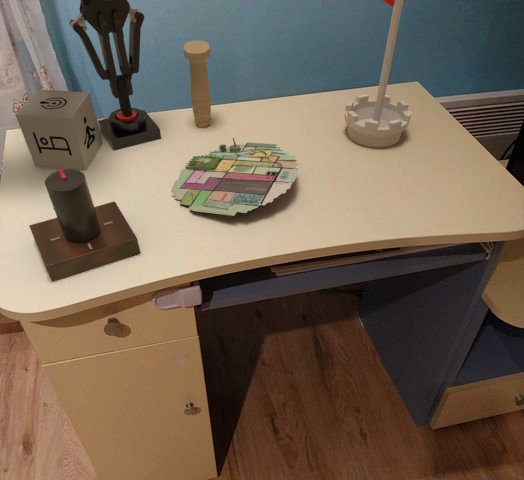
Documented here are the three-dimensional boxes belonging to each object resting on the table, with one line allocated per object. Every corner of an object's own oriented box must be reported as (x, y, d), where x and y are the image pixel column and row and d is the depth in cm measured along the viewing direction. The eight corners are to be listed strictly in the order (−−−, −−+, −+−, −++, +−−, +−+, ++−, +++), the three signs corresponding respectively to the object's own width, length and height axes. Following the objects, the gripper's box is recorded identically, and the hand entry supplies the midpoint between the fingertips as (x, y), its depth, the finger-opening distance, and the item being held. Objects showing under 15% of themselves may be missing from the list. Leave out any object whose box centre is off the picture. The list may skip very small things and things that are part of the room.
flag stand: (398, 118, 108) (437, -56, 84) (411, 149, 100) (459, -34, 76) (338, 119, 107) (361, -56, 84) (347, 150, 99) (375, -34, 76)
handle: (191, 132, 103) (182, 53, 91) (192, 117, 107) (184, 40, 96) (214, 132, 103) (209, 53, 92) (214, 117, 107) (209, 40, 96)
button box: (100, 130, 103) (95, 111, 100) (146, 120, 106) (142, 101, 103) (114, 150, 98) (109, 131, 95) (161, 139, 101) (158, 119, 98)
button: (115, 120, 101) (113, 111, 99) (134, 116, 102) (132, 107, 101) (121, 129, 99) (119, 120, 97) (141, 124, 100) (139, 115, 98)
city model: (180, 157, 101) (173, 128, 96) (295, 144, 99) (294, 114, 94) (167, 237, 85) (157, 207, 80) (303, 223, 83) (301, 192, 79)
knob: (105, 235, 77) (89, 182, 69) (69, 247, 75) (49, 193, 68) (94, 216, 80) (78, 163, 72) (59, 226, 78) (39, 173, 71)
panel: (52, 281, 75) (45, 265, 72) (35, 240, 81) (28, 224, 78) (140, 253, 79) (136, 237, 76) (118, 216, 85) (114, 200, 82)
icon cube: (35, 167, 94) (15, 114, 86) (54, 140, 101) (37, 89, 93) (86, 170, 94) (71, 118, 86) (102, 143, 100) (89, 92, 92)
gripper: (127, -44, 84) (150, 98, 103) (50, -34, 80) (89, 111, 99) (142, -33, 80) (164, 113, 99) (62, -22, 76) (100, 128, 95)
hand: (126, 112), depth 99 cm, fingers closed
